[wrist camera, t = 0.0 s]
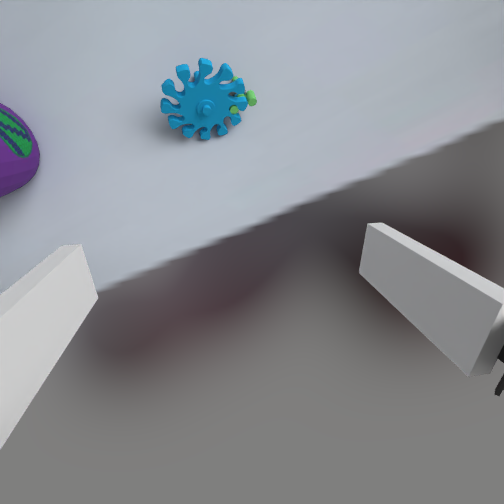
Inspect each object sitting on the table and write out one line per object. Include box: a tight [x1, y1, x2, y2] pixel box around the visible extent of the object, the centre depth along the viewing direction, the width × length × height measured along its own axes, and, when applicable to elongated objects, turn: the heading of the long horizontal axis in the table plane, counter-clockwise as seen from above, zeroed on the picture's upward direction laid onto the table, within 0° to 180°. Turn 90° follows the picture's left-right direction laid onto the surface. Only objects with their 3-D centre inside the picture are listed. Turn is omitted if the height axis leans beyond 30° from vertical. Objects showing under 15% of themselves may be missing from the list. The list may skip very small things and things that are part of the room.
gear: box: [161, 58, 257, 140], centre depth 31 cm, size 11×6×10 cm
